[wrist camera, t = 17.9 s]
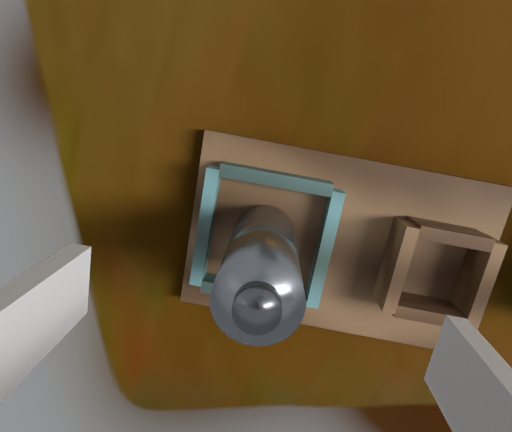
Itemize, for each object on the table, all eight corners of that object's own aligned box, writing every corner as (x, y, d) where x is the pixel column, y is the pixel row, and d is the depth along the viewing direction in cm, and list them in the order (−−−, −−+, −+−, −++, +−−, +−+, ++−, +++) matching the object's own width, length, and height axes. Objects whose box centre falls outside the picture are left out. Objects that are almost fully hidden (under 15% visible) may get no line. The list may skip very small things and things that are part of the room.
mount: (207, 129, 25) (196, 130, 22) (508, 185, 25) (545, 195, 22) (183, 294, 28) (170, 318, 25) (452, 345, 28) (476, 376, 24)
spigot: (239, 199, 25) (214, 256, 15) (299, 210, 25) (317, 275, 15) (229, 256, 26) (199, 347, 16) (287, 266, 26) (296, 365, 16)
